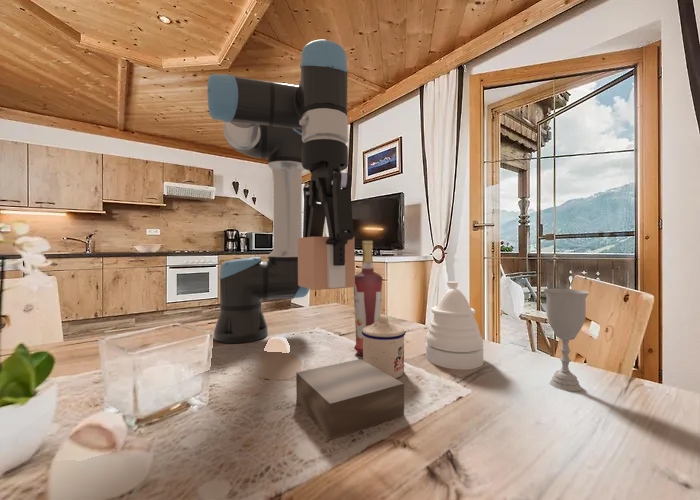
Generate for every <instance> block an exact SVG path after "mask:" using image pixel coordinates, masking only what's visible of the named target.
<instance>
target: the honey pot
mask: <svg viewBox="0 0 700 500" xmlns="http://www.w3.org/2000/svg"><path fill="white" fill-rule="evenodd" d="M458 284H459V281H446V285H447V287H448V290H447V291H446V292H445V293H444V294H443V295H442V297H441V299H440V300H439V302H438V304H437V305H435V306H432V307H431V308H430V311H431V312H432V313H433V317H432V319H431V320H430V323H429V327H428V331H427V333H426V336H425V340H426V341H425V359H426V360H427V361H428V362H429V363H431V364H433V365H435V366H438V367H440V368H441V367H442V368H445V369H449V370H472V369H477V368H480V367H482V366H483V364H484V348H483V347H484V340H483V337H482V335H481V330H480V328H479V323H478V322H477V321H476V318H475V314H476V310H475V309H474V308H473V307H471V306H470V303H469V301H468V299H467V298H466V296H465V295H464V294H463V292H462V291H460V290H459V289H457V287H458V286H459V285H458Z"/></svg>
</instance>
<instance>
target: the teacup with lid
mask: <svg viewBox="0 0 700 500" xmlns="http://www.w3.org/2000/svg"><path fill="white" fill-rule="evenodd" d="M362 334H363V355H362V360H363V361H365V362H367V363H368V364H370V365H372V366H374V367H376V368H377V369H379V370H381V371H383V372H384V373H386V374H388V375H390V376H392V377H393V378H395V379H398V378H399V379H400V378H401V377H402V376H403V375H404V374H405V335H406V332H405V329H404V328H403V327H402V326H399V325H397V324H395V323H393V322H391V321H389V318H388V317H387V316H381V317H379V321H377V322H375V323H373V324H372V325H368V326H366V327H364V328H363V330H362Z"/></svg>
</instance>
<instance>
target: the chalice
mask: <svg viewBox="0 0 700 500" xmlns="http://www.w3.org/2000/svg"><path fill="white" fill-rule="evenodd" d="M543 292H544V294H545V296H546V317H547V321H548V323H549V325H550V327H551V329H552V330H553V333H554V334H555V336H556V338H558V339H560V340H561V343H562V344H561V348H560V351H561V354H562V355H561V357H560V358H559V360H560V361H561V365H562V366H561V368H560V370H556V371H555V372H553V376H551V379H550V381H549V384H550V385H551V386H553V387H554V388H557V389H560V390H564V391H570V392H578V391H579V392H580V391H582V386H581V385H580V382H579V380H578V377H577V376H576V375H575V374H574V372H571V370H570V368H569V364H570V363H571V362H572V360H571V359H570V357H569V354H570V353H571V349H570V347H569V346H570V345H569V342H570V341H572V340H575V339H576V338H577V336H578V334H579V333H580V331H581V329H582V328H583V326H584V323H585V321H586V319H587V318H586V313H587V311H586V307H587V306H586V304H587V303H586V302H587V301H586V298H587V297H588V295H589V294H590V292H589V291H587V290H580V289H572V288H544V289H543Z"/></svg>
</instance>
